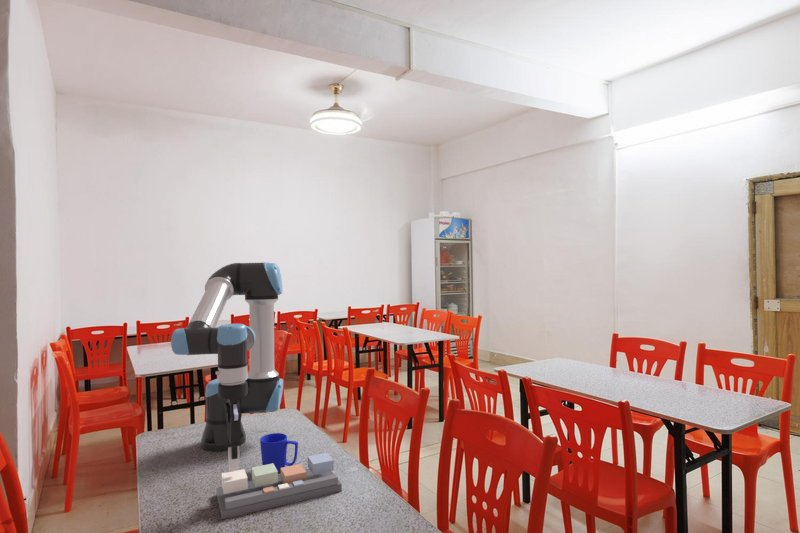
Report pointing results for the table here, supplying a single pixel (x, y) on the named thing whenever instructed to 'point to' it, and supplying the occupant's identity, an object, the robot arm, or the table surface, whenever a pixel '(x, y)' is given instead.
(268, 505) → the keypad
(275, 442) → the mug
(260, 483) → the sage key
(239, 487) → the ivory key
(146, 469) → the table surface
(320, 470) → the blue key
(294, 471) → the terracotta key
